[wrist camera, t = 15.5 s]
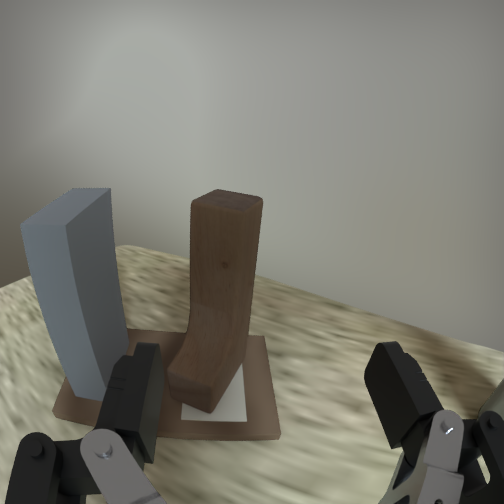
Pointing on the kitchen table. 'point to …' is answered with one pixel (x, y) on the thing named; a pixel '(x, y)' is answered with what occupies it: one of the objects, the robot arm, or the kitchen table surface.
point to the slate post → (79, 285)
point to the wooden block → (217, 296)
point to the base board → (189, 418)
